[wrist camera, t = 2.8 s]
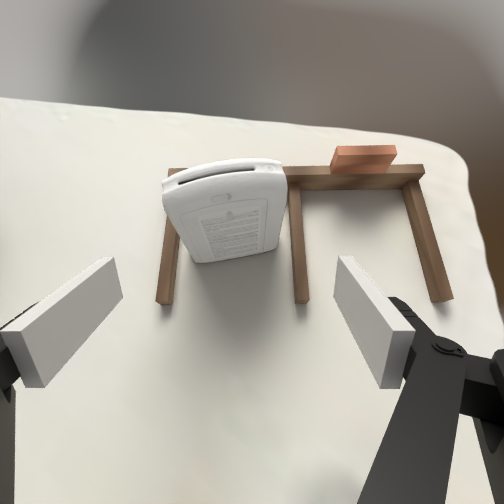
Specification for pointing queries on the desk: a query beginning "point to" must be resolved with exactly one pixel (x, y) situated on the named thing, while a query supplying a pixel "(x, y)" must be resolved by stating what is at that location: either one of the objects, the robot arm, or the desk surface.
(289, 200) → the wooden stand frame
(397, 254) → the desk surface
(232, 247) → the photo printer
